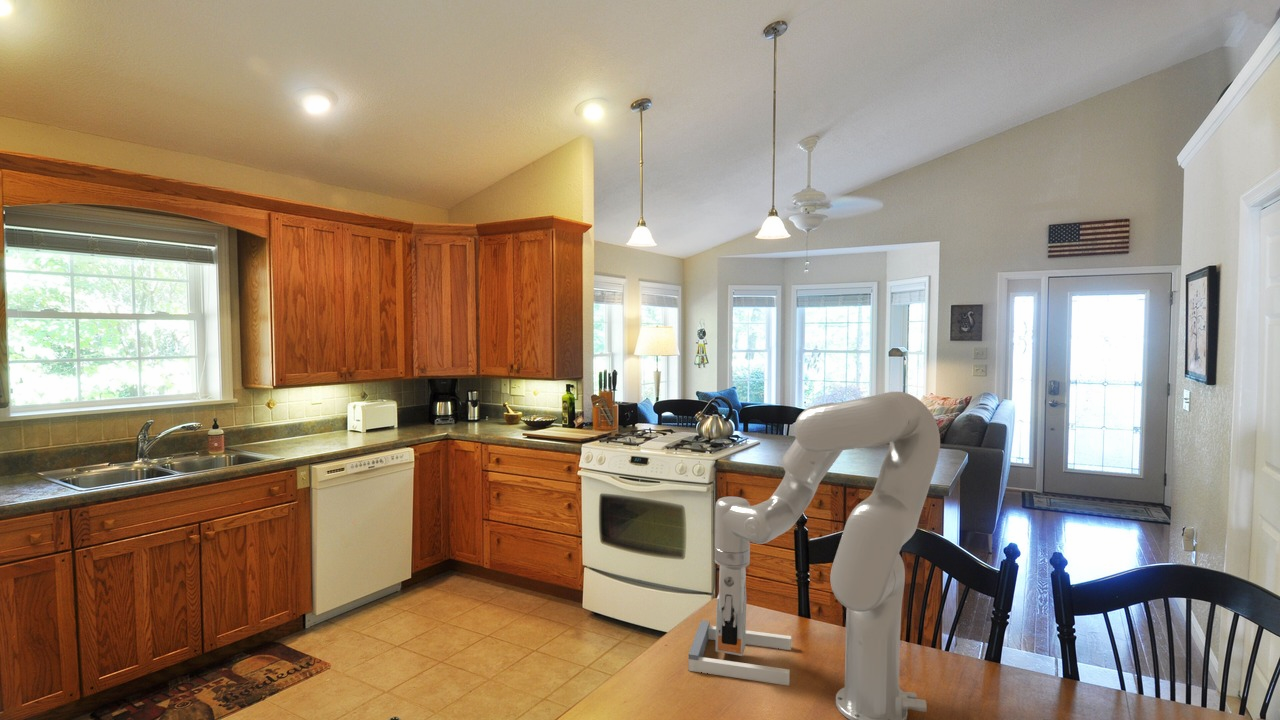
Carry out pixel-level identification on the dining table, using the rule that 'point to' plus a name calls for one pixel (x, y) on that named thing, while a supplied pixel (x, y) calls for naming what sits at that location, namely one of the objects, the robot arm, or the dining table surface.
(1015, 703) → the dining table surface
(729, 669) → the guide channel
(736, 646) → the skincare box
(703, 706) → the dining table surface
